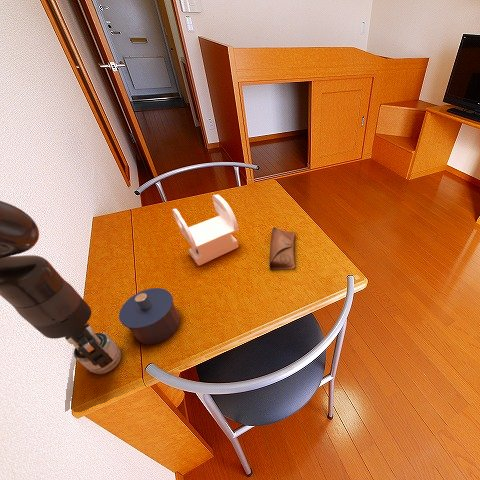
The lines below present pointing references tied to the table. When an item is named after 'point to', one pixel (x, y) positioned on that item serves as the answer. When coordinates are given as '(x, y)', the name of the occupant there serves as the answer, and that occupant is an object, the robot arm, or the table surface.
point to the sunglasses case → (282, 250)
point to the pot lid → (146, 308)
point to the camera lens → (109, 348)
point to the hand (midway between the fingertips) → (98, 351)
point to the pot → (159, 329)
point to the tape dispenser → (210, 233)
